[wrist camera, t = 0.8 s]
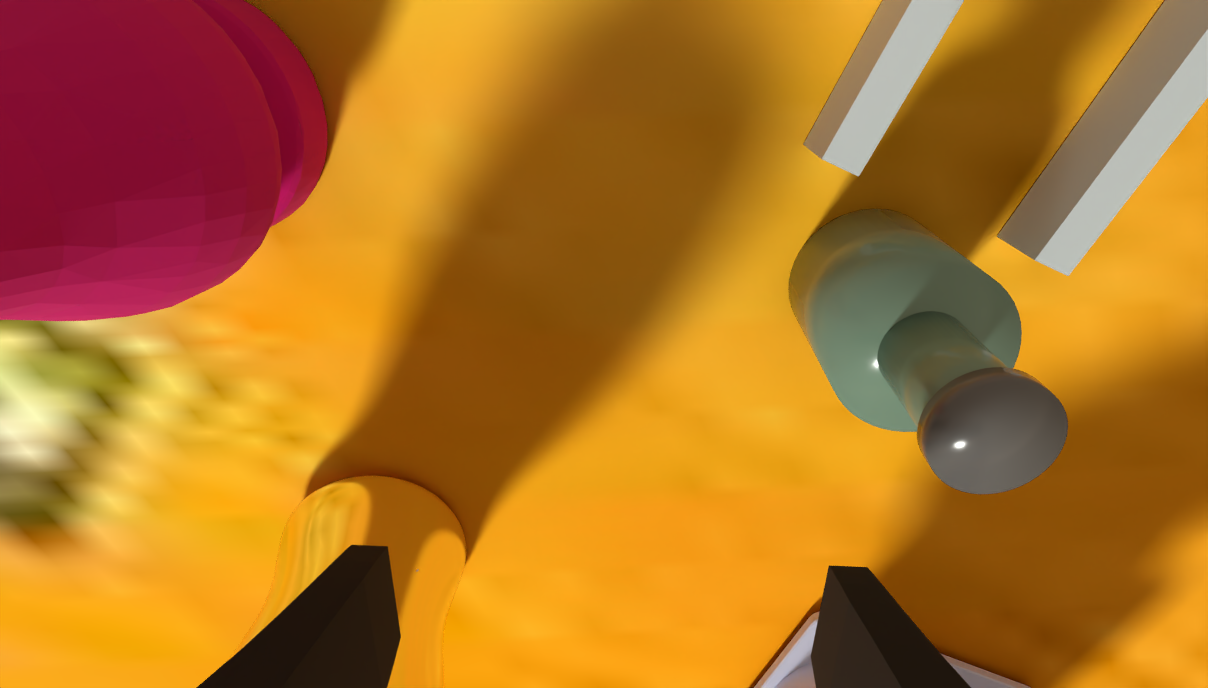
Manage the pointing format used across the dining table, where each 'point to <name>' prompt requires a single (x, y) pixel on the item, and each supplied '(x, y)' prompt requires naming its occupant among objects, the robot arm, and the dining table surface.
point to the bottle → (925, 349)
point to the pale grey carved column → (416, 550)
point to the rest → (1089, 154)
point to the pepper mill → (144, 150)
